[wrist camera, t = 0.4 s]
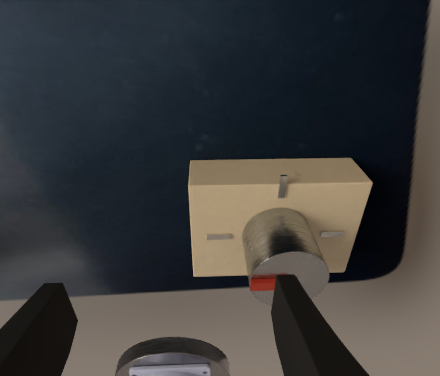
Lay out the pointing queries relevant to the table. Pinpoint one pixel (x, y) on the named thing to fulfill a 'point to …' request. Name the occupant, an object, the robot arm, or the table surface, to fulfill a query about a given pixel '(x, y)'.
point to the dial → (282, 253)
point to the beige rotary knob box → (272, 206)
